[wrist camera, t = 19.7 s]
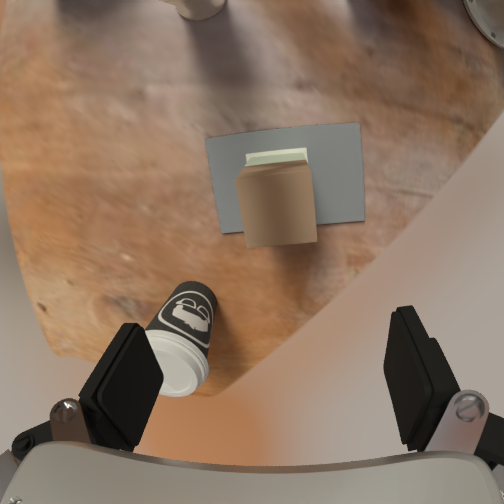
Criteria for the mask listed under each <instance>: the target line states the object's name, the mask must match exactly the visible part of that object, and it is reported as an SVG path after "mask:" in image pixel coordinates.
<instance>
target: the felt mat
mask: <svg viewBox="0 0 504 504" xmlns="http://www.w3.org/2000/svg"><path fill="white" fill-rule="evenodd" d="M205 145H206V151H207V156H208V162H209V168H210V173H211V179H212V185H213V190H214V196H215V201H216V207H217V212H218V217H219V223H220V228H221V233H231V232H241V231H244V230H243V224H242V218H241V213H240V207H239V201H238V195H237V189H236V183H235V179H236V177H237V176H238V175H239V173H240V172H241V170H242V169H243V167H244V166H245V165H246V163H247V162H248V161H249V159H250V158H251V157H259V156H269V155H278V154H289V153H300V152H303V154H304V156H305V158H306V161H307V163H308V165H309V167H310V169H311V173H312V183H313V194H314V205H315V217H316V225H317V224H329V223H341V222H353V221H365V206H364V178H363V160H362V145H361V133H360V123H341V124H324V125H310V126H299V127H288V128H278V129H270V130H261V131H253V132H246V133H239V134H232V135H225V136H219V137H213V138H207V139H205Z"/></svg>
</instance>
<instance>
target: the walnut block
mask: <svg viewBox="0 0 504 504" xmlns="http://www.w3.org/2000/svg"><path fill="white" fill-rule="evenodd" d="M235 183H236V189H237V195H238V201H239V207H240V213H241V218H242V224H243V230H244V236H245V242H246V248H257V247H268V246H278V245H289V244H299V243H310V242H317V230H316V217H315V205H314V194H313V183H312V173H311V169H310V167H309V165H308V163H307V161H306V160H295V161H286V162H277V163H268V164H260V165H252V166H244V167H243V169H242V170H241V172H240V173H239V175H238V176H237V177H236V179H235Z"/></svg>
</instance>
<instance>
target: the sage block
mask: <svg viewBox="0 0 504 504" xmlns="http://www.w3.org/2000/svg"><path fill="white" fill-rule="evenodd" d="M295 160H306V158H305V156H304V154H303V152H300V153H289V154H278V155H269V156H259V157H251V158H250V159H249V161H248V162H247V163H246V165H245V166H252V165H260V164H268V163H277V162H286V161H295Z"/></svg>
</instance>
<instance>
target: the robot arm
mask: <svg viewBox="0 0 504 504" xmlns="http://www.w3.org/2000/svg"><path fill="white" fill-rule="evenodd" d="M463 2H464V5H465V8H466V10H467V12H468V14H469V16H470V18H471V19H472V21H473V22H474V24H475V25H476V27H477V28H478V29H479V30H480V32H481V33H482V34H483V35H484V36H485V37H486V38H487V39H488V40H489V41H491V42H492V43H493V44H495V45H496V46H498V47H499V48H502V49H504V0H463ZM384 374H385V378H386V381H387V385H388V389H389V392H390V396H391V400H392V404H393V408H394V412H395V416H396V420H397V424H398V429H399V432H400V437H401V441H402V444H403V445H404V444H407V447H408V451H412V450H416V449H417V452H415V453H408V454H401V455H395V456H388V457H382V458H375V459H368V460H361V461H351V462H342V463H332V464H319V465H303V466H237V465H220V464H206V463H197V462H188V461H179V460H172V459H165V458H159V457H153V456H147V455H142V454H136V453H131V452H133V450H134V448H135V446H137V445H138V444H139V442H140V440H141V437H142V435H143V432H144V429H145V427H146V424H147V422H148V419H149V417H150V414H151V412H152V409H153V406H154V404H155V401H156V399H157V396H158V394H159V391H160V389H161V386H162V384H163V381H164V375H163V372H162V370H161V368H160V365H159V363H158V361H157V359H156V356H155V354H154V352H153V349H152V347H151V345H150V342H149V340H148V338H147V335H146V333H145V330H144V328H143V327H140V325H139V324H138V323H124V324H123V325H122V326H121V328H120V329H119V331H118V332H117V334H116V335H115V337H114V338H113V340H112V342H111V343H110V345H109V346H108V348H107V349H106V351H105V352H104V354H103V356H102V357H101V359H100V360H99V362H98V364H97V365H96V367H95V369H94V370H93V372H92V373H91V375H90V377H89V378H88V380H87V382H86V383H85V385H84V386H83V388H82V390H81V391H80V393H79V397H80V399H79V401H77V400H75V399H73V398H66V399H63V400H61V401H59V402H57V403H56V404H55V405H54V406H53V408H52V409H51V412H50V420H49V421H47V422H45V423H42V424H40V425H38V426H36V427H34V428H31V429H29V430H27V431H25V432H22V433H21V434H19V435H18V436H17V437H16V438H15V439H14V441H13V443H12V451H10V450H9V449H8V450H7V451H5V452H4V453H3V454H1V455H0V504H504V501H503V498H502V494H501V492H500V490H501V491H502V492H503V493H504V418H502V417H500V416H497V415H494V414H492V413H490V412H489V404H488V401H487V400H486V398H485V397H484V396H483V395H482V394H481V393H479V392H477V391H473V390H463V391H461V390H460V388H459V385H458V383H457V381H456V379H455V377H454V374H453V372H452V370H451V368H450V366H449V364H448V362H447V360H446V358H445V356H444V353H443V352H442V349H441V348H440V345H439V344H438V342H437V340H436V339H435V338H429V336H428V334H427V332H426V330H425V328H424V326H423V324H422V323H421V320H420V319H419V316H418V315H417V313H416V311H415V309H414V307H413V306H412V305H410V306H403V307H397V309H396V312H392V314H391V322H390V328H389V335H388V341H387V348H386V354H385V360H384ZM120 449H121V450H123V451H121V450H120ZM126 451H128V452H126ZM503 497H504V496H503Z"/></svg>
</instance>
